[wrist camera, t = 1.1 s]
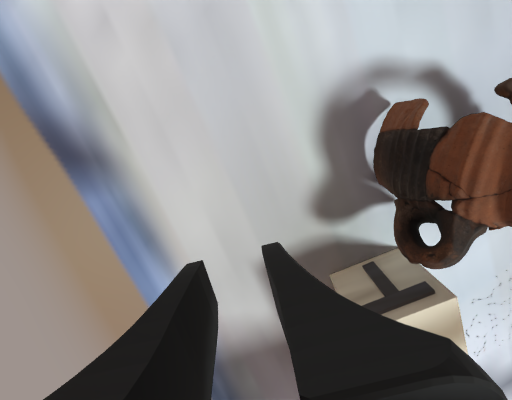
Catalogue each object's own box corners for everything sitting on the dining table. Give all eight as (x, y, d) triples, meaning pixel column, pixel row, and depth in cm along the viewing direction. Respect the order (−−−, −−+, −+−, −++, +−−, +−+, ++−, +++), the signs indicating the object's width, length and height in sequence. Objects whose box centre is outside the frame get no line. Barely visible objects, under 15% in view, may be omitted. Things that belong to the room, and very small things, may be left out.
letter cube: (414, 301, 24) (469, 363, 18) (349, 326, 24) (384, 394, 19) (398, 243, 22) (456, 293, 16) (327, 271, 22) (360, 330, 17)
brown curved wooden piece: (403, 49, 17) (614, 20, 11) (449, 115, 23) (602, 123, 16) (327, 229, 18) (479, 302, 11) (391, 248, 24) (514, 303, 17)
